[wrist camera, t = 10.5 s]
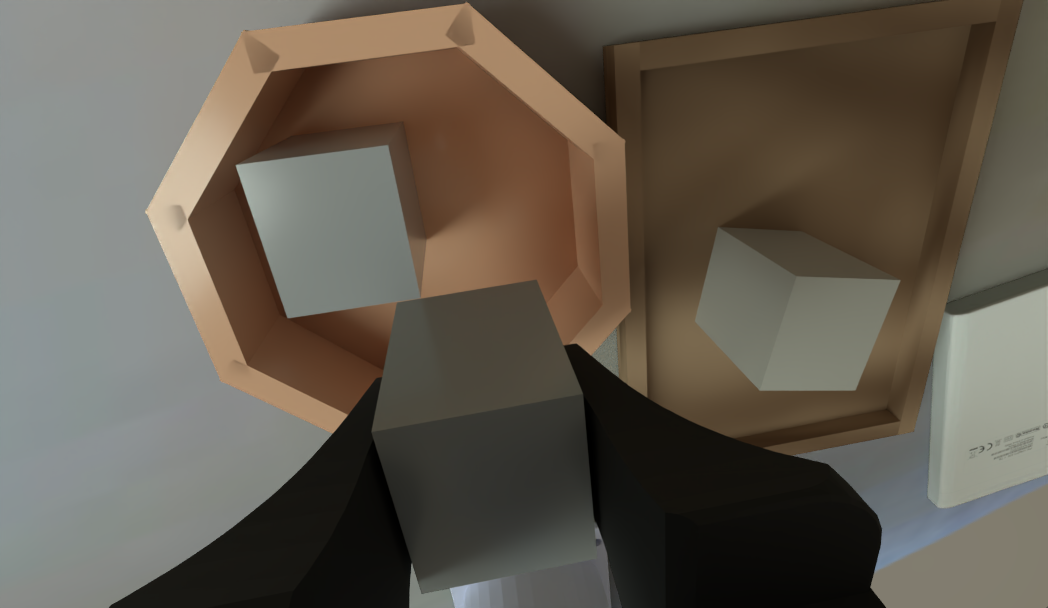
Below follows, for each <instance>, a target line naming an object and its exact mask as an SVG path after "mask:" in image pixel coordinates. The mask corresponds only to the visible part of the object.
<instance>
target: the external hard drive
mask: <svg viewBox="0 0 1048 608" xmlns="http://www.w3.org/2000/svg"><path fill="white" fill-rule="evenodd" d="M1045 475H1048V269H1046V270H1043V271H1040V272H1037V273H1034V274H1031V275H1028V276H1026V277H1023V278H1020V279H1017V280H1014V281H1011V282H1008V283H1005V284H1002V285H1000V286H997V287H994V288H991V289H988V290H985V291H982V292H979V293H976V294H973V295H970V296H968V297H965V298H962V299H959V300H956V301H953V302H950V303H947V304H946V307H945V311H944V314H943V318H942V322H941V326H940V330H939V334H938V338H937V342H936V346H935V350H934V357H933V378H932V402H931V425H930V445H929V468H928V489H927V498H929V499H930V500H931V501H932V502H933V503H934V504H935V505H936V506H937V507H938V508H951V507H954V506H957V505H960V504H963V503H966V502H969V501H971V500H974V499H977V498H980V497H983V496H986V495H988V494H991V493H994V492H997V491H1000V490H1003V489H1006V488H1009V487H1012V486H1015V485H1018V484H1021V483H1024V482H1027V481H1030V480H1033V479H1036V478H1039V477H1042V476H1045Z"/></svg>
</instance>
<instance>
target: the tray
mask: <svg viewBox="0 0 1048 608" xmlns="http://www.w3.org/2000/svg"><path fill="white" fill-rule="evenodd" d="M1022 4H1023V0H942V1H935V2H927V3H920V4H913V5H905V6H898V7H890V8H883V9H876V10H868V11H861V12H853V13H846V14H839V15H831V16H824V17H816V18H809V19H801V20H794V21H787V22H779V23H772V24H764V25H757V26H750V27H742V28H735V29H727V30H720V31H713V32H705V33H698V34H690V35H683V36H676V37H668V38H661V39H653V40H646V41H638V42H631V43H624V44H616V45H609V46H603V64H604V84H605V104H606V124H607V126H608V127H610V128H611V129H612V130H613V131H614V132H615V133H616V134H618V135H619V136H620V137H621V138H623V139H625V141H626V142H625V166H626V194H627V222H628V250H629V278H630V306H631V312H630V313H629V314H628V315H627V316H626V317H625V318H624V319H623V320H622V321H621V323H620V324H619V325H618V326H617V347H618V367H619V378H620V379H621V380H622V381H624V382H625V383H626V384H628V385H629V386H630V387H632V388H633V389H635V390H636V391H638V392H639V393H641V394H642V395H644V396H646V397H647V398H649V399H650V400H652V401H654V402H655V403H657V404H659V405H660V406H662V407H664V408H666V409H668V410H670V411H672V412H674V413H676V414H677V415H679V416H681V417H683V418H685V419H687V420H690V421H692V422H694V423H696V424H698V425H701V426H703V427H705V428H708V429H710V430H713V431H715V432H718V433H720V434H723V435H725V436H728V437H731V438H734V439H736V440H739V441H742V442H745V443H748V444H751V445H755V446H758V447H761V448H764V449H768V450H771V451H774V452H778V453H782V454H787V455H796V454H801V453H807V452H812V451H817V450H822V449H827V448H832V447H838V446H843V445H848V444H853V443H858V442H863V441H869V440H874V439H879V438H884V437H889V436H894V435H899V434H905V433H910V432H914V428H915V424H916V420H917V417H918V413H919V409H920V405H921V401H922V397H923V393H924V389H925V385H926V381H927V377H928V373H929V369H930V366H931V362H932V358H933V354H934V350H935V346H936V342H937V338H938V334H939V330H940V326H941V322H942V318H943V314H944V311H945V307H946V303H947V299H948V295H949V291H950V287H951V283H952V279H953V275H954V271H955V267H956V263H957V259H958V256H959V252H960V248H961V244H962V240H963V236H964V232H965V228H966V224H967V220H968V216H969V212H970V208H971V204H972V201H973V197H974V193H975V189H976V185H977V181H978V177H979V173H980V169H981V165H982V161H983V157H984V153H985V150H986V146H987V142H988V138H989V134H990V130H991V126H992V122H993V118H994V114H995V110H996V106H997V102H998V98H999V95H1000V91H1001V87H1002V83H1003V79H1004V75H1005V71H1006V67H1007V63H1008V59H1009V55H1010V51H1011V47H1012V43H1013V40H1014V36H1015V32H1016V28H1017V24H1018V20H1019V16H1020V12H1021V8H1022ZM718 227H728V228H747V229H767V230H786V231H802V232H804V233H806V234H808V235H810V236H812V237H814V238H816V239H818V240H820V241H822V242H824V243H827V244H829V245H831V246H833V247H835V248H837V249H839V250H841V251H843V252H845V253H847V254H849V255H851V256H853V257H855V258H857V259H859V260H861V261H863V262H865V263H867V264H869V265H871V266H873V267H875V268H877V269H879V270H881V271H883V272H885V273H887V274H889V275H891V276H893V277H895V278H897V279H899V280H901V281H900V283H899V285H898V288H897V290H896V293H895V295H894V298H893V300H892V302H891V305H890V307H889V310H888V312H887V315H886V317H885V319H884V322H883V324H882V327H881V329H880V332H879V334H878V337H877V339H876V341H875V344H874V346H873V349H872V351H871V354H870V356H869V358H868V361H867V363H866V366H865V368H864V371H863V373H862V375H861V378H860V380H859V383H858V385H857V388H856V390H852V391H759V389H758V388H757V387H756V386H755V385H754V384H753V383H752V382H751V381H750V380H749V379H748V378H747V377H746V376H745V375H744V373H743V372H742V371H741V370H740V369H739V368H738V367H737V366H736V365H735V364H734V363H733V362H732V361H731V360H730V358H729V357H728V356H727V355H726V354H725V353H724V352H723V351H722V350H721V349H720V348H719V347H718V346H717V345H716V344H715V342H714V341H713V340H712V339H711V338H710V337H709V336H708V335H707V334H706V333H705V332H704V331H703V330H702V329H701V328H700V326H699V325H698V324H697V323H696V322H695V318H696V314H697V310H698V306H699V302H700V298H701V294H702V290H703V286H704V282H705V278H706V274H707V270H708V266H709V262H710V258H711V254H712V250H713V246H714V242H715V237H716V233H717V229H718Z"/></svg>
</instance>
